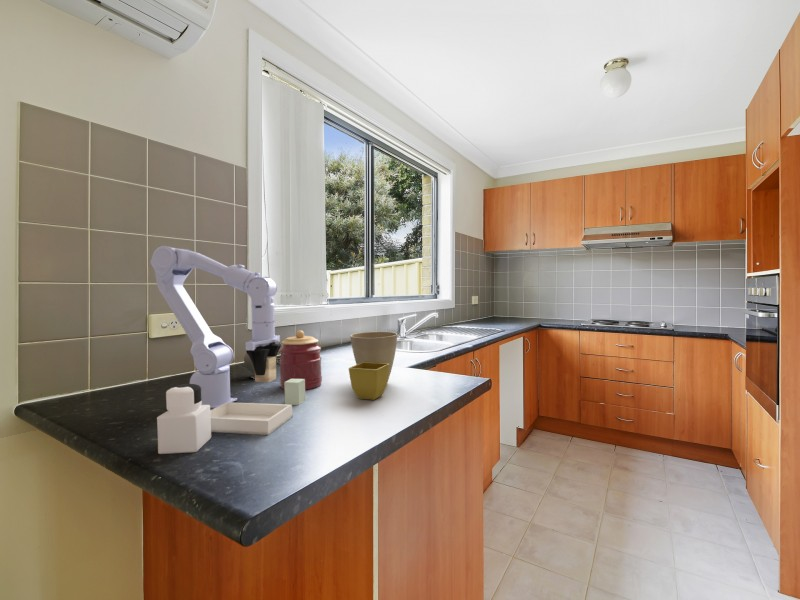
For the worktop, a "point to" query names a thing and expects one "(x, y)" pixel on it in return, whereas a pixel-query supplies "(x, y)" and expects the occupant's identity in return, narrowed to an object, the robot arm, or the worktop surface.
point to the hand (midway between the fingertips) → (264, 373)
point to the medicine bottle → (183, 421)
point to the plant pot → (374, 347)
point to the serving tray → (249, 417)
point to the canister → (300, 360)
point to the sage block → (294, 391)
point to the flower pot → (369, 379)
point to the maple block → (268, 371)
